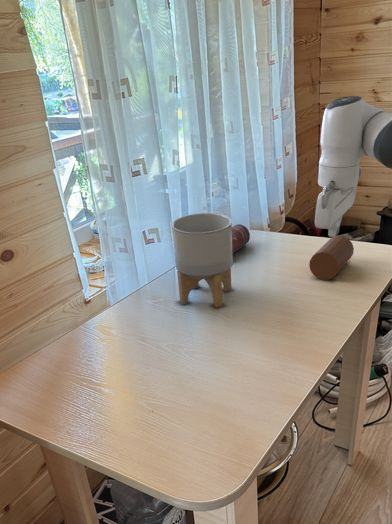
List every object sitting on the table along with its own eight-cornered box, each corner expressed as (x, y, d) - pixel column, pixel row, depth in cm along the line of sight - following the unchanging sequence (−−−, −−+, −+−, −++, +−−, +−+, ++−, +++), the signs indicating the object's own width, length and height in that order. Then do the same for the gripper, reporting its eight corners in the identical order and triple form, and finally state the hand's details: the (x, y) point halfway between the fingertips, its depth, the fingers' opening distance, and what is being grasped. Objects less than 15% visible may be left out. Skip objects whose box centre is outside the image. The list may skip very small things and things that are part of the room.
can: (227, 230, 148) (201, 246, 138) (243, 219, 143) (217, 236, 133) (238, 248, 149) (213, 266, 139) (254, 238, 144) (230, 256, 134)
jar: (336, 282, 123) (352, 263, 131) (338, 254, 119) (355, 237, 127) (308, 277, 126) (325, 259, 134) (310, 250, 122) (327, 233, 131)
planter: (244, 299, 118) (242, 224, 109) (194, 314, 114) (188, 237, 104) (216, 279, 128) (213, 209, 119) (169, 293, 124) (162, 220, 114)
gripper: (338, 189, 108) (333, 251, 115) (363, 166, 123) (357, 222, 130) (309, 187, 111) (306, 248, 118) (337, 165, 125) (333, 220, 133)
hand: (333, 234), depth 124 cm, fingers closed
